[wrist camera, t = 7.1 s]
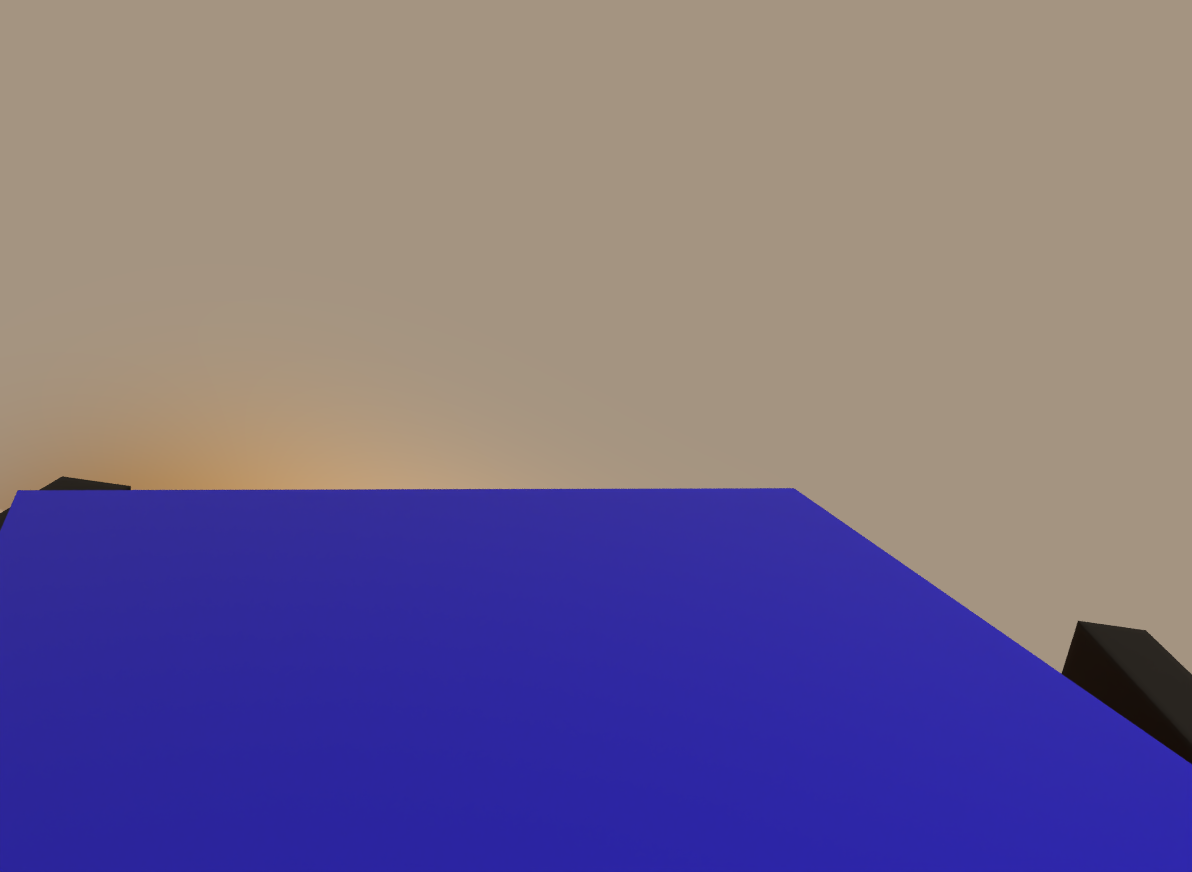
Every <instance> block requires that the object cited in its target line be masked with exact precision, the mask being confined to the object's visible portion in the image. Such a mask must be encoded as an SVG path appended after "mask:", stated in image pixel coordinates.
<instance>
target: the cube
mask: <svg viewBox="0 0 1192 872" xmlns="http://www.w3.org/2000/svg"><path fill="white" fill-rule="evenodd" d="M0 872H1192V764H1191V763H1189V762H1188V761H1186V760H1185V759H1183V758H1182V757H1180V756H1179V755H1178V754H1176V753H1175V752H1173V751H1172V750H1170V749H1169V748H1167V747H1166V746H1165V745H1163V744H1162V743H1160V742H1159V741H1157V740H1156V739H1155V738H1153V737H1152V736H1150V735H1149V734H1147V733H1146V732H1144V731H1143V730H1142V729H1140V728H1139V727H1137V726H1136V725H1134V724H1133V723H1131V722H1130V721H1129V720H1127V719H1126V718H1124V717H1123V716H1121V715H1120V714H1118V713H1117V712H1116V711H1114V710H1113V709H1111V708H1110V707H1108V706H1107V705H1106V704H1104V703H1103V702H1101V701H1100V700H1098V699H1097V698H1095V697H1094V696H1093V695H1091V694H1090V693H1088V692H1087V691H1085V690H1084V689H1082V688H1081V687H1080V686H1078V685H1077V684H1075V683H1074V682H1072V681H1071V680H1069V679H1068V678H1067V677H1065V676H1064V675H1062V674H1061V673H1059V672H1058V671H1056V670H1055V669H1054V668H1052V667H1051V666H1049V665H1048V664H1046V663H1045V662H1043V661H1042V660H1041V659H1039V658H1038V657H1036V656H1035V655H1033V654H1032V653H1031V652H1029V651H1028V650H1026V649H1025V648H1023V647H1022V646H1020V645H1019V644H1018V643H1016V642H1015V641H1013V640H1012V639H1010V638H1009V637H1007V636H1006V635H1005V634H1003V633H1002V632H1000V631H999V630H997V629H996V628H995V627H993V626H991V625H990V624H989V623H987V622H986V621H984V620H983V619H982V618H980V617H979V616H977V615H976V614H974V613H973V612H971V611H970V610H969V609H967V608H966V607H964V606H963V605H961V604H960V603H958V602H957V601H956V600H954V599H953V598H951V597H950V596H948V595H947V594H946V593H944V592H943V591H941V590H940V589H938V588H937V587H935V586H934V585H933V584H931V583H929V582H928V581H927V580H925V579H924V578H922V577H921V576H920V575H918V574H917V573H915V572H914V571H912V570H911V569H909V568H908V567H907V566H905V565H903V564H902V563H901V562H899V561H898V560H896V559H895V558H894V557H892V556H891V555H889V554H888V553H886V552H885V551H884V550H882V549H881V548H879V547H877V546H876V545H875V544H873V543H872V542H871V541H869V540H868V539H866V538H865V537H863V536H862V535H860V534H859V533H858V532H856V531H855V530H853V529H852V528H850V527H849V526H848V525H846V524H845V523H843V522H842V521H840V520H839V519H837V518H836V517H834V516H833V515H832V514H830V513H829V512H827V511H826V510H824V509H823V508H822V507H820V506H819V505H817V504H816V503H814V502H813V501H811V500H810V499H809V498H807V497H806V496H804V495H803V494H801V493H800V492H799V491H797V490H796V489H794V488H792V489H791V488H786V489H785V488H779V489H778V488H777V489H776V488H774V489H772V488H767V489H766V488H763V489H762V488H760V489H407V490H406V489H405V490H404V489H401V490H400V489H394V490H392V489H381V490H379V489H376V490H24V491H23V490H18V491H17V493H16V496H15V498H14V500H13V503H12V505H11V507H10V509H9V512H8V514H7V516H6V519H5V521H4V523H3V526H2V528H1V530H0Z"/></svg>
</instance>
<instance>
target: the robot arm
mask: <svg viewBox="0 0 1192 872" xmlns="http://www.w3.org/2000/svg"><path fill="white" fill-rule="evenodd" d="M40 490H131V486H126V485H119V484H112V483H104V482H97V481H90V480H83V479H76V478H69V477H60V478H59V479H57V480H55V481H54V482H52V483H51V484H49V485H47V486H45V487H44V488H42V489H40ZM9 509H10V508H8V509H7V510H5V511H3V512H2V513H0V530H1V528H2V526H3V523H4V521H5V519H6V516H7V514H8V512H9ZM1062 675H1064V676H1065V677H1067V678H1068V679H1069V680H1071V681H1072V682H1074V683H1075V684H1077V685H1078V686H1080V687H1081V688H1082V689H1084V690H1085V691H1087V692H1088V693H1090V694H1091V695H1093V696H1094V697H1095V698H1097V699H1098V700H1100V701H1101V702H1103V703H1104V704H1106V705H1107V706H1108V707H1110V708H1111V709H1113V710H1114V711H1116V712H1117V713H1118V714H1120V715H1121V716H1123V717H1124V718H1126V719H1127V720H1129V721H1130V722H1131V723H1133V724H1134V725H1136V726H1137V727H1139V728H1140V729H1142V730H1143V731H1144V732H1146V733H1147V734H1149V735H1150V736H1152V737H1153V738H1155V739H1156V740H1157V741H1159V742H1160V743H1162V744H1163V745H1165V746H1166V747H1167V748H1169V749H1170V750H1172V751H1173V752H1175V753H1176V754H1178V755H1179V756H1180V757H1182V758H1183V759H1185V760H1186V761H1188V762H1189V763H1191V764H1192V674H1191V673H1190V672H1188V671H1187V670H1186V669H1185V668H1184V667H1183V666H1182V665H1181V664H1180V663H1179V662H1178V661H1177V660H1176V659H1175V658H1174V657H1173V656H1172V655H1171V654H1170V653H1169V652H1168V651H1167V650H1165V649H1164V647H1162V645H1160V644H1159V643H1158V642H1157V641H1156V640H1155V639H1154V638H1153V637H1152V636H1151V635H1150V634H1149V633H1148V632H1147V631H1146V630H1139V629H1131V628H1125V627H1117V626H1111V625H1104V624H1097V623H1090V622H1082V621H1078V623H1077V626H1076V629H1075V633H1074V637H1073V639H1072V642H1071V645H1070V649H1069V652H1068V655H1067V658H1066V661H1065V665H1064V668H1063V671H1062Z"/></svg>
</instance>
